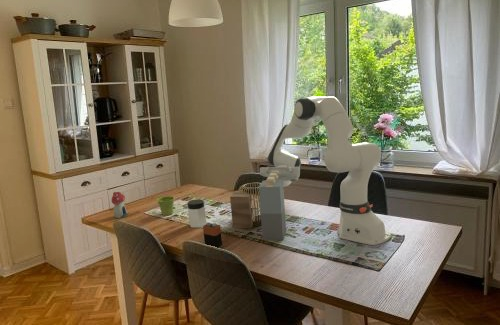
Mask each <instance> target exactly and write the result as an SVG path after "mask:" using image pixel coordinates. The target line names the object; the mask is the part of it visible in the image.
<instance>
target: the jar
mask: <svg viewBox="0 0 500 325" xmlns="http://www.w3.org/2000/svg"><path fill="white" fill-rule="evenodd" d="M186 204H187V215H188V221H189V226H190V227H191V228H195V229H196V228H197V229H199V228H203V226H204V225H206V224H207V223H208V222H207V215H206V207H205V201H204V200H203V199H199V198H197V199H192V200H188V201H187V203H186Z"/></svg>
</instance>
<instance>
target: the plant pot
mask: <svg viewBox="0 0 500 325" xmlns="http://www.w3.org/2000/svg"><path fill="white" fill-rule="evenodd" d="M175 199H176V198H175V196H171V195H168V196H162V197H161V196H160V197H159V198H157V200H156V202H158V205H159V208H160V211H161V215H162V216H170V215H173V214H174V202H175Z"/></svg>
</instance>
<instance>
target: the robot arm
mask: <svg viewBox="0 0 500 325" xmlns="http://www.w3.org/2000/svg"><path fill="white" fill-rule="evenodd" d="M293 109H294V111H293V113H292V116H291V119H290V122H289V123H288V124H284V125H283V127H282V128H281V129H280V131H279V133H278V135H277V137H276V139H275V141H274V144H273V145H272V148H271V150H270V151H269V153H268V154H267V162H268V164H269V165H270V166H261V167H259V175H261V176H262V177H265V178H266V177H267V178H268V176H269V175H270V173H271V172H272V171H279V177H278V178H277V180H283V187H288V186H290V185H291V183H292V182H293V181H298V180H299V177H300V174H301V166H302V162H301V159H300V157H299V156H297V155H295V154H292V153H290V152H287V151H285V150H284V149H282V147H283V144H284V143H285V141H286V140H287V139H295V140H296V139H299V140H300V139H303V138H305V137H307V136H308V135H309V134H310V132H311V131H312V128H313V126H314V122H315V121H321V122H322V124H323V126H324V128H325V130H326V134H327V135H328V139H329V147H328V149H327V150H326V152H325V153H324V158H323V159H324V165H325V167H326V168H327V170H328V171H329V172H331V173H346V172H348V174H347V176H346V177H345V178H344V179H343V180H342V181H341V183H340V200H339V209H340V218H339V224H338V229H337V233H338V235H339V236H338V238H340V239H343V240H348V241H351V242H356V243H360V244H365V245H369V246H376V245H380V244H383V243H385V242H387V241H388V240H390V239H391V237H392V234H391V233H390V232H389V231H386V227H385V223H384V221H383V220H382V219H381V218H379V216H377V214H376V213H375V212H373V211H372V207H373V205H374V204H373V203H372V204H370V203H369V201H368V184H369V180H370V177H371V175H372V173H373V170H374V168H376V166H377V165H378V164H379V163H380V161H381V160H382V151H381V148H380V147H379V145H377V143H374V142H365V141H364V142H358V143H352V144H351V142H350V140H349V138H351V137H352V135H353V133H354V126H353V124H352V121H351V119H350V117H349V115H348V113H347V111H346V109H345V108H344V105H342V103H341V102H340V100H339V99H338V98H337V97H335V96H309V97H306V96H305V97H301V98H298V99H297V100H296V102H295V103H294V108H293Z"/></svg>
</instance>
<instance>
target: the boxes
mask: <svg viewBox="0 0 500 325" xmlns="http://www.w3.org/2000/svg"><path fill="white" fill-rule="evenodd" d="M265 181H266V180H262V182H261V183H260V184H259V186H258V193H259V194H258V195H259V208H260V220H261V233H262V235H261V236H262V240H264V241H265V240H266V241H269V240H270V241H284V238H285V235H286V232H287V226H286V225H287V224H286V208H285V206H286V205H285V192H284V186H283V180H276V182H275V184H274V185H273V187H266V185H265ZM239 191H240V190H234V192H233V193H232V194H231V195H230V197H229V199H230V210H231V222H232V229H233V228H234V229H252V227H253V226H254V224H253V220H252V208H251V194H247V193H240V192H239Z"/></svg>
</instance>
